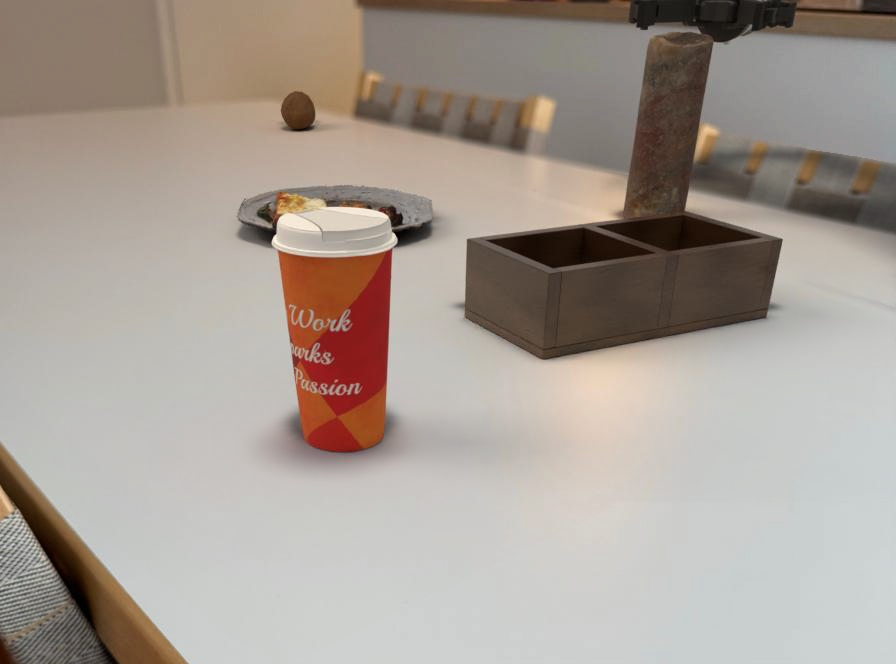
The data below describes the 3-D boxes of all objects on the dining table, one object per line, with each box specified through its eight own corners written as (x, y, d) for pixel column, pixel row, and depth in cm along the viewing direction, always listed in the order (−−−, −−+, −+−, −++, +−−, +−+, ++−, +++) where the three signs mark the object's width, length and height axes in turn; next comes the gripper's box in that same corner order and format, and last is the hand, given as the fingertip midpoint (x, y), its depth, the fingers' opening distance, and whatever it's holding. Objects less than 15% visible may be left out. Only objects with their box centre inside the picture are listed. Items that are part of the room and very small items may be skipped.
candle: (693, 223, 119) (724, 32, 107) (671, 234, 114) (700, 36, 102) (636, 215, 122) (659, 30, 111) (612, 226, 117) (633, 33, 106)
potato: (280, 132, 181) (277, 94, 177) (283, 125, 189) (280, 88, 185) (315, 132, 181) (313, 94, 178) (316, 124, 189) (314, 88, 186)
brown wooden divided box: (674, 282, 97) (685, 210, 93) (766, 317, 88) (783, 238, 84) (464, 316, 88) (466, 238, 84) (542, 359, 78) (549, 273, 74)
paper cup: (265, 433, 66) (244, 216, 58) (352, 405, 70) (344, 199, 62) (334, 470, 61) (322, 240, 53) (423, 437, 66) (424, 219, 57)
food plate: (435, 252, 107) (435, 218, 105) (227, 252, 107) (223, 218, 105) (430, 205, 127) (430, 176, 125) (255, 205, 127) (253, 176, 125)
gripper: (819, 43, 127) (800, 56, 111) (633, 38, 135) (591, 49, 119) (833, -26, 122) (816, -22, 107) (640, -27, 131) (598, -24, 115)
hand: (697, 15), depth 113 cm, fingers open, 13 cm apart
